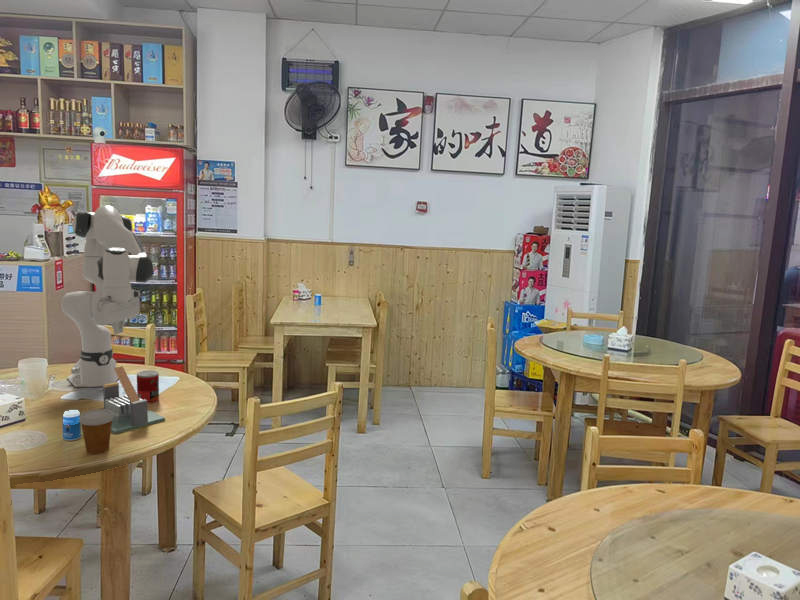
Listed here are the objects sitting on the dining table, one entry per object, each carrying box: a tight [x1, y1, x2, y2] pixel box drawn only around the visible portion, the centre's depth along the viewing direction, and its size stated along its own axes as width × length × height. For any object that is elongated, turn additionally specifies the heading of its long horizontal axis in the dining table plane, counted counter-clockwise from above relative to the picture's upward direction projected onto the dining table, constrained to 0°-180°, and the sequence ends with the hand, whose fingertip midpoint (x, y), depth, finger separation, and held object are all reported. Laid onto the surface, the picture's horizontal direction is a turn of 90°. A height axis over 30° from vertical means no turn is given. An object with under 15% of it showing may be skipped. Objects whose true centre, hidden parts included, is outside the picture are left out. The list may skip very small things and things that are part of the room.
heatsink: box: [105, 394, 142, 423], centre depth 211 cm, size 10×10×6 cm
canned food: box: [136, 370, 160, 404], centre depth 231 cm, size 8×8×11 cm
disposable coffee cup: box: [78, 408, 114, 455], centre depth 184 cm, size 10×10×12 cm
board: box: [101, 381, 166, 435], centre depth 211 cm, size 24×18×11 cm
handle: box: [114, 365, 140, 402], centre depth 208 cm, size 17×3×2 cm
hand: (118, 333), depth 209 cm, fingers closed
